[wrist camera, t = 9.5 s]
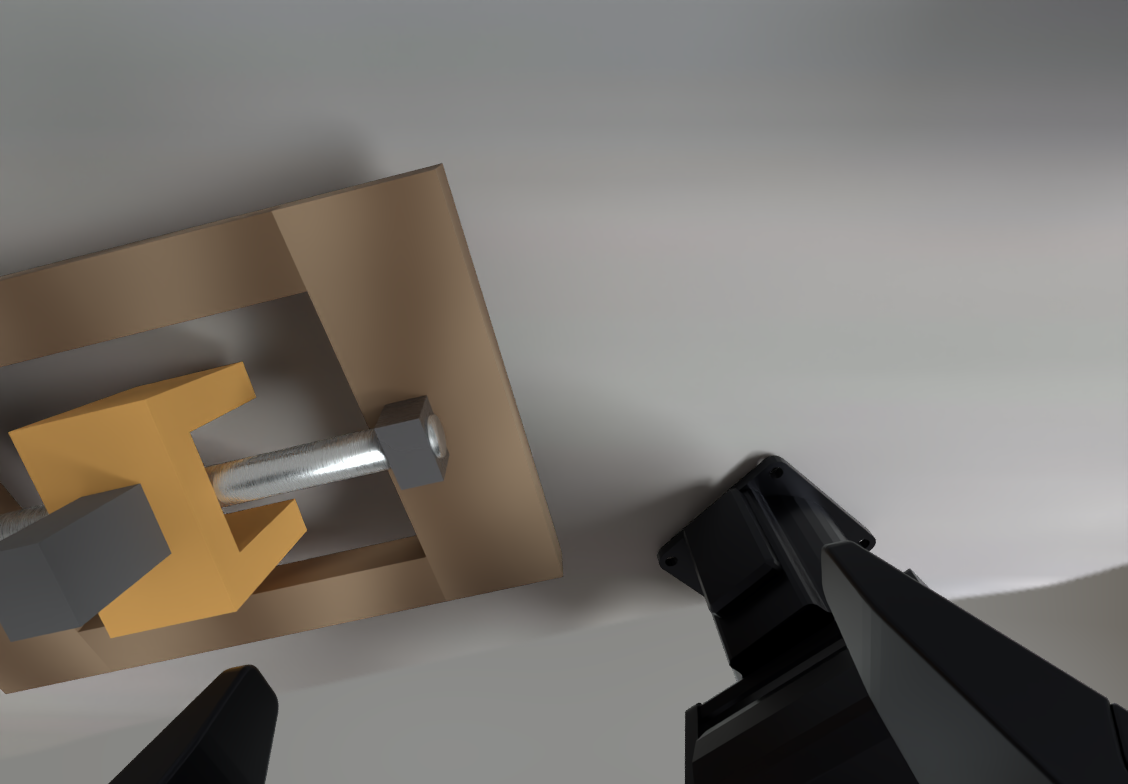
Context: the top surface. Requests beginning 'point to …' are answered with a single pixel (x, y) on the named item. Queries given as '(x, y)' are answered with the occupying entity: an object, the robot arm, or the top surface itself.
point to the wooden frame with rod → (376, 376)
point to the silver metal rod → (322, 462)
